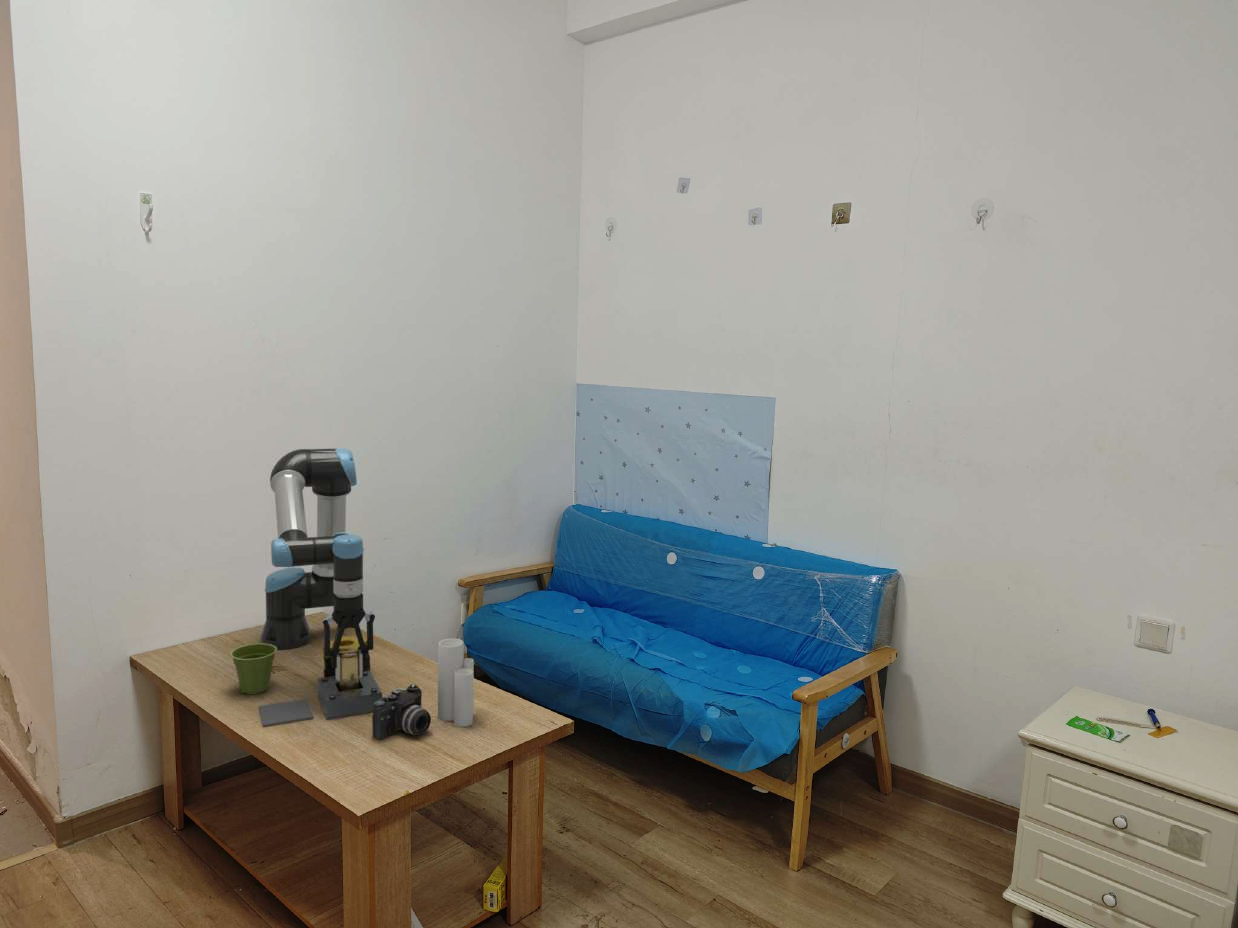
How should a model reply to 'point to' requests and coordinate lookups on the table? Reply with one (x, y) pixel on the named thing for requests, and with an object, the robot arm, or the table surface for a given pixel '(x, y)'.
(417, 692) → the camera
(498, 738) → the table surface
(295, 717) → the mat
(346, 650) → the plug
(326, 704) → the housing
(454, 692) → the grey cylinder cluster
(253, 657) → the plant pot
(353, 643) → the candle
